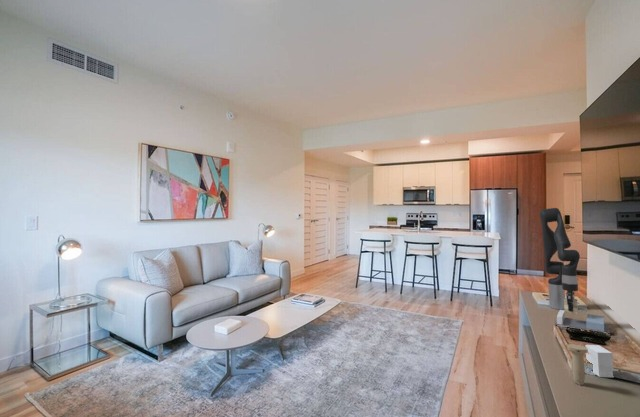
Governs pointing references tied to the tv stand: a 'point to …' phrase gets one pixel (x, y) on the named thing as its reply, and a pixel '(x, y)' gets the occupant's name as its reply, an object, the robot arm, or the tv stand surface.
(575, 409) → the tv stand surface
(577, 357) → the handle
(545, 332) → the tv stand surface
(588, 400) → the tv stand surface
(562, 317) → the panel
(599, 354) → the small box
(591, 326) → the vise jaw
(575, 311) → the birch block
